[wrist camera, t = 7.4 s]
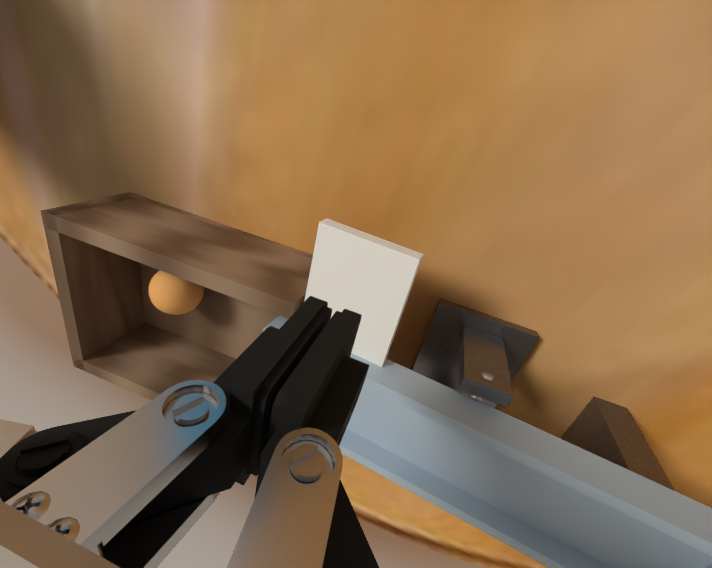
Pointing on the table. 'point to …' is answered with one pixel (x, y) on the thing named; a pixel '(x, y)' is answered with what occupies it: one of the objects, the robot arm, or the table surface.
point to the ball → (174, 293)
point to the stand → (497, 369)
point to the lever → (488, 440)
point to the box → (131, 284)
